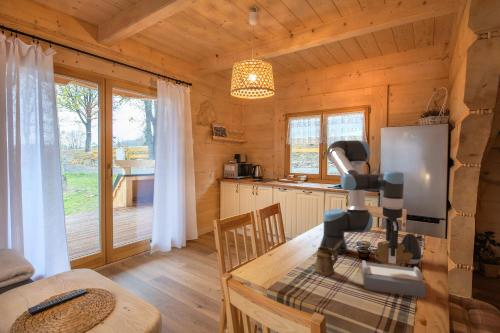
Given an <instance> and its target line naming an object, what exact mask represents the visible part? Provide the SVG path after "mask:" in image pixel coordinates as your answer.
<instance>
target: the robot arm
mask: <svg viewBox="0 0 500 333" xmlns="http://www.w3.org/2000/svg"><path fill="white" fill-rule="evenodd" d="M370 155H371V151H370V146H369V144H368V142H366V141H365V140H358V139H357V140H354V139H353V140H337V141H335V142H333V143H331V144H330V145H329V147H328V148H327V150H326V157H327V159H328V160H329V161H330V163H332V164H333V165H334V166H335V168H336V170H337V171H338V173H339V174H340V186H341V188H342V189H343V190H344V191H348V197H349V201H348V202H349V206H348V207H347V208H346V210H344V209H342V208H331V209H327V210H326V211H324V213H323V220H322V221H323V235H322V239H321V240H320V245H319V247H328V248H330V249H332V248H333V247H334V245H335V244H336V243H338V242H339V241H340V240H343V242H342V243H341V244H340V246H339V247H338V248H337V249H336V251H337V254H338V255H344V254H346V253H347V252H348V246H347V242H346V240H345V233H360V234H363V233H369V232H370V231H371V229H372V228H373V224H374V223H373V222H374V218H373V214H372V213H371V212H369V209H368V208H367V207H366V193H365V191H382V193H383V194H382V206H383V207H382V217H383V216H384V217H386V218H385V223H386V226H385V228H386V229H385V241H390V246H388V248H389V257H388V262H389V263H394V264H393V265H396V249H398V243H399V230H400V226H399V222H398V220H397V219H402V218H403V215H404V212H403V210H404V209H403V206H404V205H403V204H404V203H405V200H404V183H405V179H404V173H403V172H402V171H395V170H394V171H393V170H390V171H389V170H388V171H387V170H386V171H385V172H384V173H365V169H364V167H365V164H366V163H367V161H368V160H369V159H370Z"/></svg>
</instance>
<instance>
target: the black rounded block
mask: <svg viewBox="0 0 500 333" xmlns="http://www.w3.org/2000/svg"><path fill="white" fill-rule="evenodd" d="M422 238H423V236H422V235H417V236H416V235H415V234H414V233H410V232H409V233H406V234H404V235H403V237H402V239H401V241H400V243H402V244H403V245H404V247H405V250H407V251H409V252H411V253H412V254H413V257H412V258H411V260H410V262H409V263H407V264H409V265H417V264H418V263H420V261H421V259H422V256H423V255H422V249H421V245H420V242H419V239H422Z"/></svg>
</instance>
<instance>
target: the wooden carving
mask: <svg viewBox="0 0 500 333" xmlns="http://www.w3.org/2000/svg"><path fill="white" fill-rule="evenodd" d="M388 246H390V241H387V240H384V241H378V243H377V248H372V249H370V250H371V253H372V254H373V255H374V257H375V258H374V259H376V260H378V261H379V262H381V263H384V264H386V265H396V264H397V265H398V264H400V263H403V264H408V263H409V262H410V260H411V258H412V257H413V254H412V253H411V252H409V251H407V250H405V247H404V245H403V244H402V243H401V242H398V249H396V264H394V263H389V262H388V257H389V248H388Z"/></svg>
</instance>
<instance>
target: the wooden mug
mask: <svg viewBox="0 0 500 333" xmlns="http://www.w3.org/2000/svg"><path fill="white" fill-rule="evenodd" d="M342 242H343V240H340V241H339V242H338V243H336V244H335V245H334V247H333V248H332V249H330V248H328V247H320V246H319V247H318V248H317V251H316V260H315V265H314V269H313V271H314V273H316V274H317V275H319V276H324V277H326V276H331V275H333V274H334V273H335V268H334V265H335V264H336V263H337V262H338V260H339V256H338V255H339V254H337V251H336V249H337V248H338V247H339V246H340V244H341V243H342Z"/></svg>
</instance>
